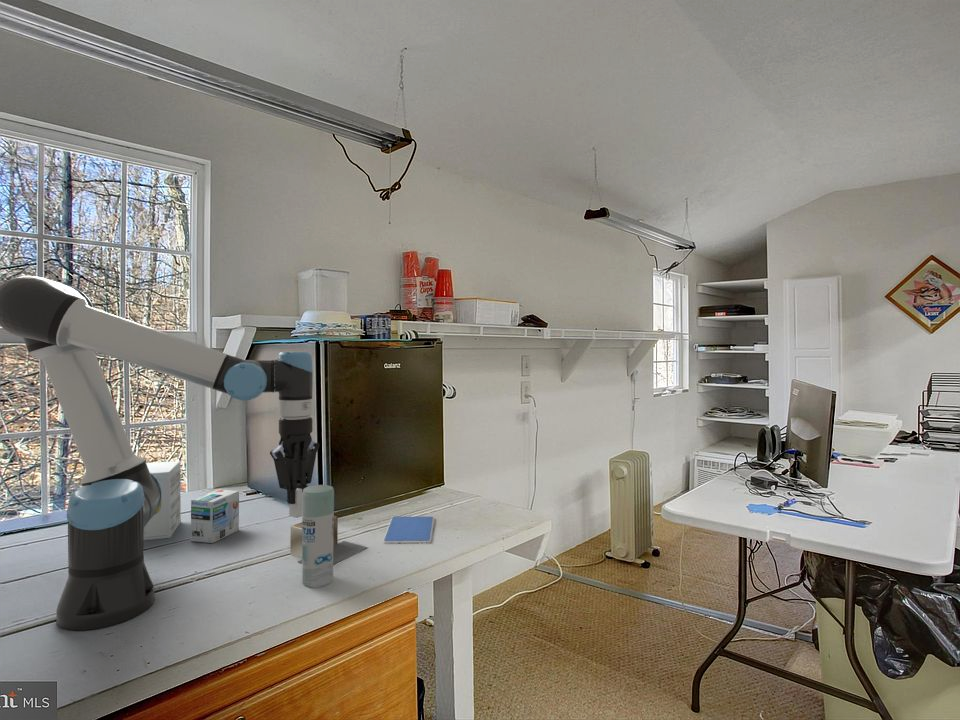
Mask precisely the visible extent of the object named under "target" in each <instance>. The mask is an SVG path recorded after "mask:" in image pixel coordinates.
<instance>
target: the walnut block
mask: <svg viewBox="0 0 960 720" xmlns="http://www.w3.org/2000/svg"><path fill="white" fill-rule="evenodd" d="M338 518H339V517H338V516H336V515H334V534H333V546H334V545H336V544H338V543H339V542H338V541H339V540H338V536H339V535H338V532H339V531H338V530H339V529H338V528H339V527H338V526H339V525H338V522H339V519H338ZM289 539H290V543H289V544H290V545H289V546H290V553H289V554H290V556H292V557H295V558H298V559H300V560H302V521H301V522H298V523H296V524H294V525H290V538H289Z"/></svg>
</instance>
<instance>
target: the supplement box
mask: <svg viewBox="0 0 960 720" xmlns="http://www.w3.org/2000/svg"><path fill="white" fill-rule="evenodd" d="M181 462H182V461H180V460H178V461H176V460H175V461H155V462H146V464H147V467H148V469H149V472H150V473H152V474H153V475H154V476H155V477H156V478H157V479H158V481H159V483H160V485H161V489H162V498H161V502H160V506H159V508H158V510H157V511H156V513H155V514H154V516H153V517H152V518H151V519H150V520H149V521H148V523H147V524H146V526H145V527H144V541H150V540H151V541H152V540H161V539H163V540H164V539H170V538H171V537H172V536H173V534H174V533H175V531H176V530H177V528H178V527H179V525H180V524H181V522H182V521H181V520H182V518H181V515H182V514H181V512H182V511H181V509H182V508H181V469H182V468H181V464H182V463H181Z"/></svg>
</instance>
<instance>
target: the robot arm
mask: <svg viewBox="0 0 960 720" xmlns="http://www.w3.org/2000/svg"><path fill="white" fill-rule="evenodd" d="M0 327H1V328H2V329H3V330H4V331H6V332H8V333H9V334H12V335H14V336H16V337H21V338H22V339H23V341H24V344H25V347H26V349H27V351H28V354H29V355H30V356H32V357H34V358H37V359H40V360H41V361H42V362H43V365H44V368H45V370H46V373H47V375H48V378H49V380H50V383H51V386H52V387H53V390H54V393H55V395H56V398H57V400H58V403H59V405H60V408H61V411H62V413H63V416H64V418H65V420H66V423H67V425H68V428H69V430H70V433H71V436H72V438H73V441H74V443H75V446H76V449H77V451H78V453H79V456H80V458H81V461H82V463H83V466H84V468H85V473H84V475H83V477H82V478H81V480H80V483H81V486H82V487H80V488H78V489H77V490H75V491H74V492H73V493H72V494H71V495H70V497H69V499H68V504H67V509H66V520H67V549H68V550H67V555H68V556H67V557H68V560H67V563H68V566H67V567H68V570H67V572H68V576H67V580H66V582H65V586H64V587H63V590H62V594H61V596H60V598H59V601H58V604H57V607H56V624H57V626H59V627H60V628H62V629H64V630H69V631H70V630H71V631H88V630H95V629H102V628H105V627H111V626H113V625H117V624H120V623H123V622H125V621H128V620H130V619H132V618H135V617H136V616H139V615H140V614H143V613H144V612H146V610H148V609H149V608H150V607H151V606H152V605H153V604H154V602H155V586H154V583H153V581H152V579H151V576H150V574H149V573H150V572H148V571H149V570H148V569H147V566H146V564H145V559H144V558H145V557H144V556H145V553H144V549H145V548H144V547H145V545H144V543H145V542H144V541H145V540H144V527H145V526H146V524H147V523H148V521H149V520H150V519H151V518H152V517H153V516H154V514H155V513H156V511H157V510H158V508H159V506H160V502H161V498H162V489H161V485H160V483H159V481H158V479H157V478H156V477H155V476H154V475H153V474H152V473H150V472H149V469H148V467H147V464H146V463H147V462H146V459H145V457H141V456H138V455H136V454H135V453H134V451H133V448H132V446H131V444H130V441H129V438H128V436H127V433H126V430H125V428H124V425H123V422H122V420H121V417H120V415H119V412H118V409H117V407H116V403H115V401H114V398H113V396H112V393H111V391H110V389H109V386H108V383H107V381H106V378H105V375H104V373H103V370H102V368H101V364H100V362H99V359H98V356H97V354H96V353H98V354H101V355H105V356H107V357H111V358H114V359H117V360H120V361H124V362H126V363H129V364H133V365H136V366H139V367H142V368H146V369H149V370H151V371H155V372H158V373H162V374H164V375H168V376H171V377H174V378H177V379H180V380H183V381H187V382H190V383H193V384H197V385H199V386H203V387H206V388H209V389H212V390H215V391H217V392H220V393H223V394H227V395H229V396H231V397H232V398H233V399H235V400H239V401H244V402H247V401H251V400H253V399H256V398H258V397H259V396H261V395H262V394H263V393H264V394H265V393H266V394H267V393H278V417H280V418H279V419H278V434H279V436H280V439H279V442H278V446H277V447H276V448H275V449H271V450H270V451H269V455H270V456H271V458H272V459H273V462H274V466H275V467H274V468H275V472H276V477H277V481H278V486H279V488H280V489H283V490H286V492H287V493H286V494H287V496H286V497H287V498H286V501H287V504H289V507H288V510H289V512H288V513H289V514H288V516H289V517H291V518H292V517H293V518H295V519H299V518H302V493H303V489H304V488H306V487H309V484H311V483H312V480H313V475H314V474H313V473H314V468H315V463H316V458H317V457H316V456H317V452H318V450H319V449H320V446H321V445H320V443H319V442H317V441H316V442H315V441H314V440H312V435H311V434H312V432H313V418H312V417H311V416H312V415H313V381H314V380H313V377H314V376H313V375H314V371H313V356H312V354H311V353H310V352H308V351H281V352H279V353H278V357H277V359H271V360H270V359H269V360H267V359H261V360H260V359H258V360H257V359H242V358H239V357H238V356H237V357H236V356H232V355H230V354H227V353H225V352H222V351H219V350H216V349H213V348H211V347H207V346H204V345H201V344H198V343H196V342H192V341H190V340H188V339H184V338H181V337H178V336H176V335H173V334H169V333H166V332H163V331H161V330H158V329H155V328H152V327H149V326H146V325H143V324H140V323H137V322H135V321H131V320H130V319H126V318H124V317H121V316H118V315H115V314H112V313H109V312H106V311H103V310H100V309H98V308H95V307H94V305H93V303H92V300H90V298H89V297H88V296H87V295H86V294H85V293H84V292H83V291H81V290H80V289H79V288H77V287H75V286H73V285H71V284H69V283H66V282H62V281H57V280H52V279H51V280H50V279H47V278H46V277H41V276H37V275H36V276H34V275H33V276H32V275H24V276H18V277H14V278H11V279H9V280H6V281H5V282H3V283H2V284H0Z"/></svg>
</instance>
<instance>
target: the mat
mask: <svg viewBox="0 0 960 720" xmlns="http://www.w3.org/2000/svg"><path fill="white" fill-rule="evenodd" d="M366 549H369V547H367V546H365V545H361V544H356V543H353V542H350V541H346V540H343V541H341V542H338V544H336V545H334V546H333V566H334V565H336V564H337V563H339V562H342V561H344V560H346V559H348V558H349V557H352V556H354V555H356V554H358V553H360V552H362V551H364V550H366ZM297 563H299V564H302V559H300V560H298V561H297Z"/></svg>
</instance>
